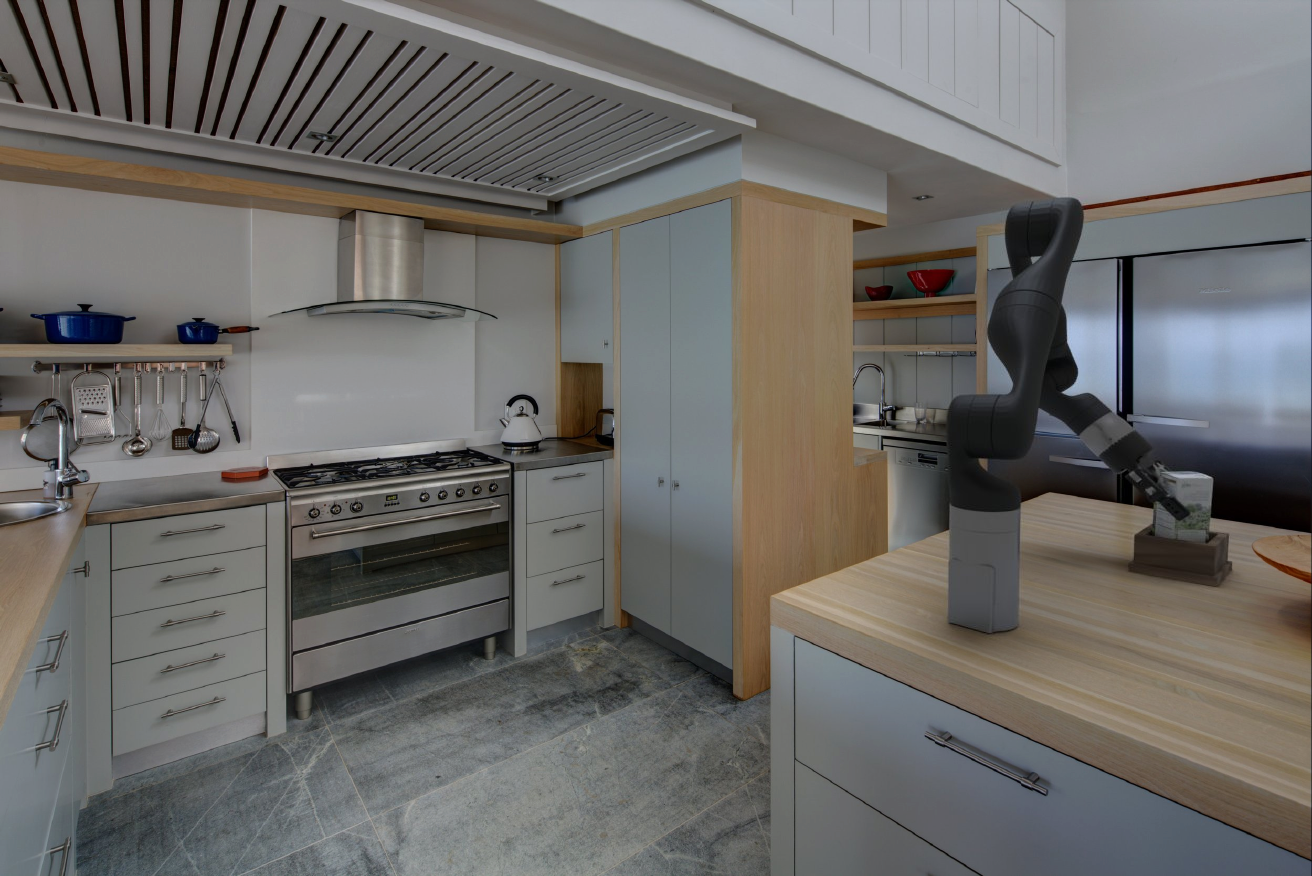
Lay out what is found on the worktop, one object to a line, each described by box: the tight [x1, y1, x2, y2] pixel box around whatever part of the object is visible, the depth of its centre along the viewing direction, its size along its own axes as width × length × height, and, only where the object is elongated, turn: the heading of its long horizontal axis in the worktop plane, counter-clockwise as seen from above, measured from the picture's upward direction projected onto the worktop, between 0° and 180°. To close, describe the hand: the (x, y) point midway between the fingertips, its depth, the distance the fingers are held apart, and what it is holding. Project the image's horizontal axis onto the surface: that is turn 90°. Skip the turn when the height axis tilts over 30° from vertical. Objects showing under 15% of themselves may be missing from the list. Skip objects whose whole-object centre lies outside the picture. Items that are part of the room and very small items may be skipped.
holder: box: [1127, 523, 1233, 588], centre depth 113 cm, size 12×12×6 cm
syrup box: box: [1152, 471, 1214, 544], centre depth 113 cm, size 6×6×14 cm
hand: (1191, 513), depth 112 cm, fingers closed on syrup box, 8 cm apart
